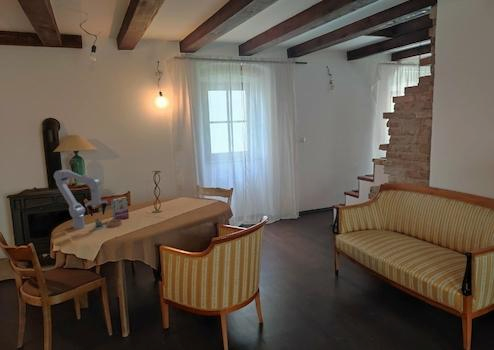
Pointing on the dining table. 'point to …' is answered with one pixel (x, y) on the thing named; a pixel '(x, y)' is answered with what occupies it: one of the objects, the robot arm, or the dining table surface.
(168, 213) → the dining table surface
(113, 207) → the candy bar box
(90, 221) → the dining table surface
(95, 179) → the robot arm
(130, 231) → the dining table surface
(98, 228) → the checker
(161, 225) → the dining table surface
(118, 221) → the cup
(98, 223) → the cell
